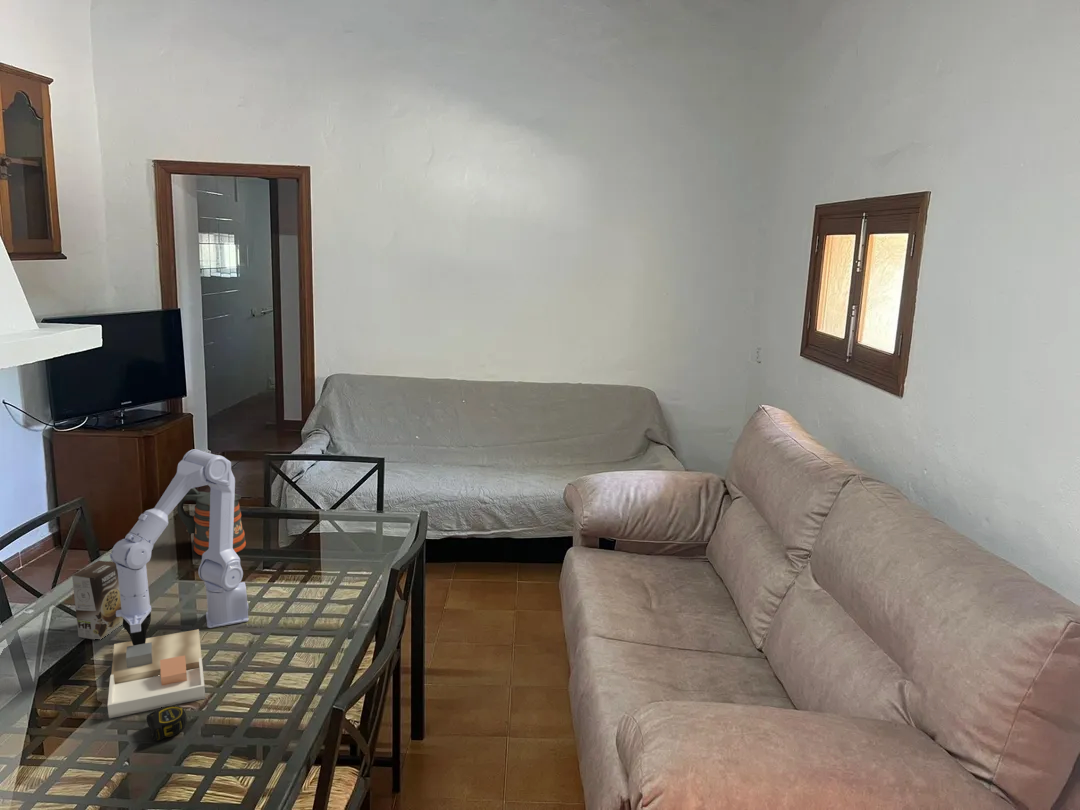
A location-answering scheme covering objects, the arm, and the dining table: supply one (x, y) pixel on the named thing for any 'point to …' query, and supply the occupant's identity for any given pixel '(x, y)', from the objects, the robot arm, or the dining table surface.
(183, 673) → the tile terracotta
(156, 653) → the deck
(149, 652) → the tile slate
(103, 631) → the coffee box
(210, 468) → the robot arm
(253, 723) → the dining table surface
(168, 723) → the tape measure
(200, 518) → the beer stein
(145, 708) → the box
